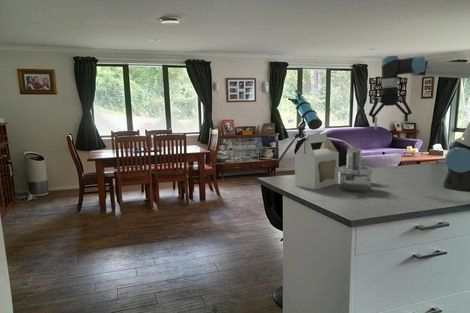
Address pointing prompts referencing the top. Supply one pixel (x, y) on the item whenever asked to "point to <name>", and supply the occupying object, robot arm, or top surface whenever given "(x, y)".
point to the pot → (355, 179)
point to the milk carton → (350, 156)
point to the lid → (356, 161)
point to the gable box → (316, 163)
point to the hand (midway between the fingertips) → (389, 129)
